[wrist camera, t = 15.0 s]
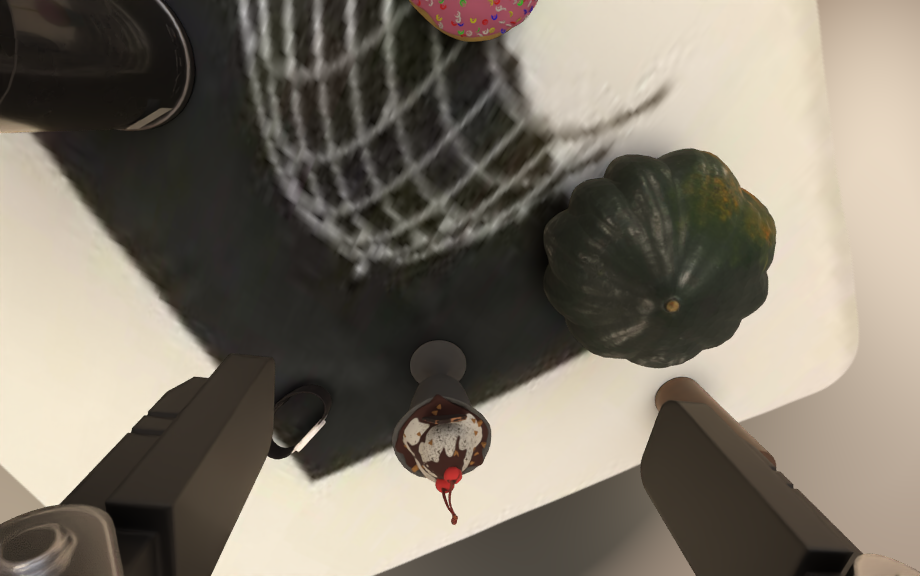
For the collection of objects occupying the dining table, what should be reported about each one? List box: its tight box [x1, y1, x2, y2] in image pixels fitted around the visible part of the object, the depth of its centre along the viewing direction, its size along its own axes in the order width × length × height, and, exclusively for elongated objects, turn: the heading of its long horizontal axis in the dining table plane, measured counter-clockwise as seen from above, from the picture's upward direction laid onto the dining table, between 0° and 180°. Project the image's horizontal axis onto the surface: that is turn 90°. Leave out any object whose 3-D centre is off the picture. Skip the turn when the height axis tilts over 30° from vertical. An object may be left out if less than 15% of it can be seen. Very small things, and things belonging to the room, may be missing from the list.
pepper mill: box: [655, 377, 776, 467], centre depth 37 cm, size 4×4×12 cm
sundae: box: [392, 340, 491, 525], centre depth 33 cm, size 7×7×15 cm
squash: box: [543, 149, 776, 368], centre depth 31 cm, size 14×15×15 cm
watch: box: [267, 385, 332, 459], centre depth 39 cm, size 8×5×4 cm, turn 138°
